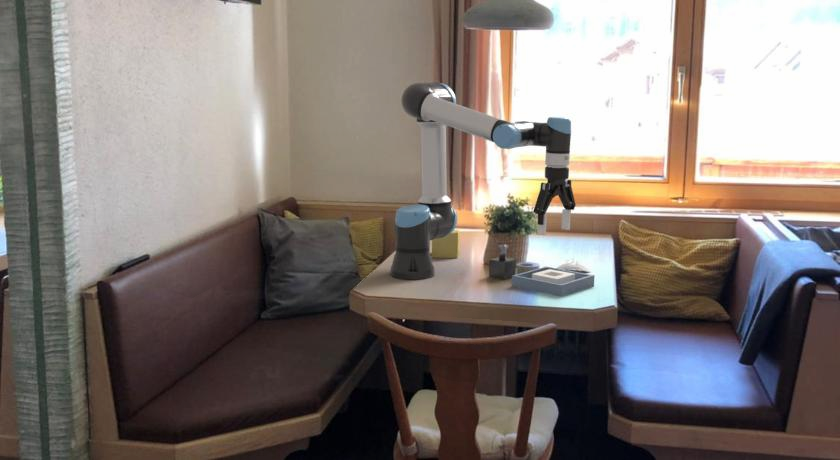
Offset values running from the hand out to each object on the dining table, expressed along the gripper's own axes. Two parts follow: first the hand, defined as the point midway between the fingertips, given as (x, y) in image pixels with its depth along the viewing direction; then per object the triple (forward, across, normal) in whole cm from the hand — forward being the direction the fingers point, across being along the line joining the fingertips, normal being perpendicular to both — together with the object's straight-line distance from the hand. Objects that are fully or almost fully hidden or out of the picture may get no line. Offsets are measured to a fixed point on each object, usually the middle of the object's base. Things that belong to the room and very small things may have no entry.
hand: (553, 232), depth 277 cm
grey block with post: (+18, -1, +19) cm, 26 cm away
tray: (+18, 0, -1) cm, 18 cm away
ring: (+17, 0, -1) cm, 17 cm away
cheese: (+19, +12, +56) cm, 61 cm away
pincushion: (+18, +23, +7) cm, 30 cm away
